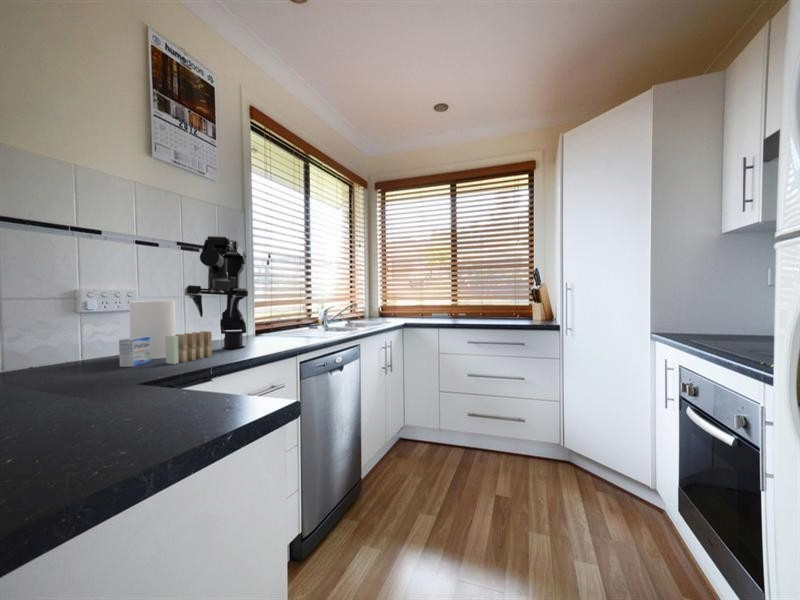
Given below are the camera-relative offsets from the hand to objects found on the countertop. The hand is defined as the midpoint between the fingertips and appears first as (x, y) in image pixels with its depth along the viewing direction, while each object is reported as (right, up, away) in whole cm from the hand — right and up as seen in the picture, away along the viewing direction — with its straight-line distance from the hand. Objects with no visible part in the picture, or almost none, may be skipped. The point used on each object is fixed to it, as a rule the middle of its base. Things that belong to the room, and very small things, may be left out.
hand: (216, 317), depth 121 cm
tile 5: (-12, -15, -4) cm, 20 cm away
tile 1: (-8, -15, +8) cm, 18 cm away
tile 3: (-10, -15, +2) cm, 18 cm away
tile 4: (-11, -15, -1) cm, 19 cm away
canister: (-27, -15, +8) cm, 32 cm away
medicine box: (-23, -15, -6) cm, 28 cm away
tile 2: (-9, -15, +5) cm, 18 cm away
